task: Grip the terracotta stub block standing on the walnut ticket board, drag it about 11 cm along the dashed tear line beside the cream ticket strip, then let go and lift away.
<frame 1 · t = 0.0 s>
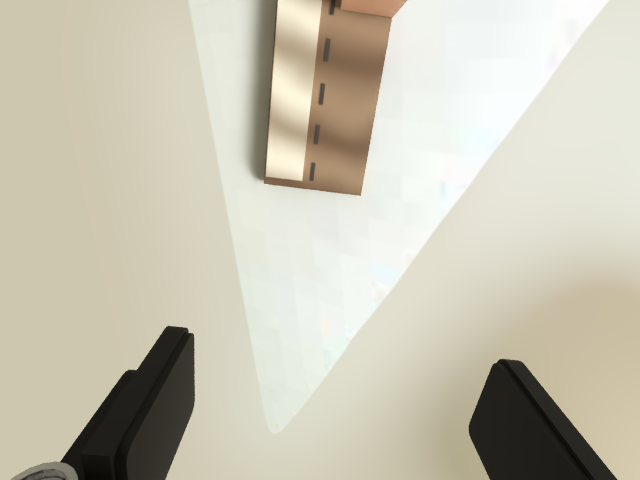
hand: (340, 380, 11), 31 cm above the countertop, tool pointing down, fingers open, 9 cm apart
ticket board: (329, 52, 35), on the countertop
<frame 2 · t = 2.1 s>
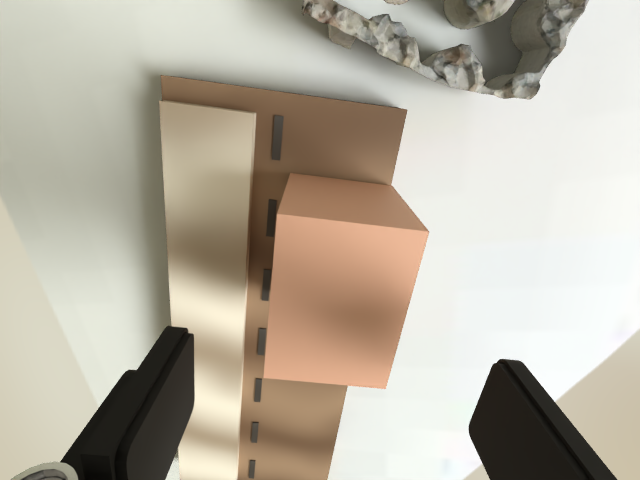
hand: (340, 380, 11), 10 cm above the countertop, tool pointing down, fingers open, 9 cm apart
ticket board: (269, 326, 22), on the countertop
stub: (334, 272, 15), point 5 cm above the countertop, slide at 0.0 cm
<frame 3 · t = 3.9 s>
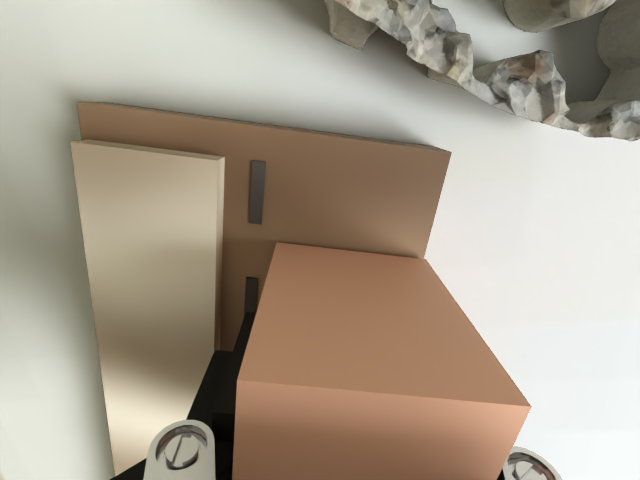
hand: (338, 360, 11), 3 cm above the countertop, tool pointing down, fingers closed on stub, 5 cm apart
ticket board: (252, 427, 16), on the countertop
stub: (342, 404, 10), point 5 cm above the countertop, slide at 0.0 cm, touching gripper
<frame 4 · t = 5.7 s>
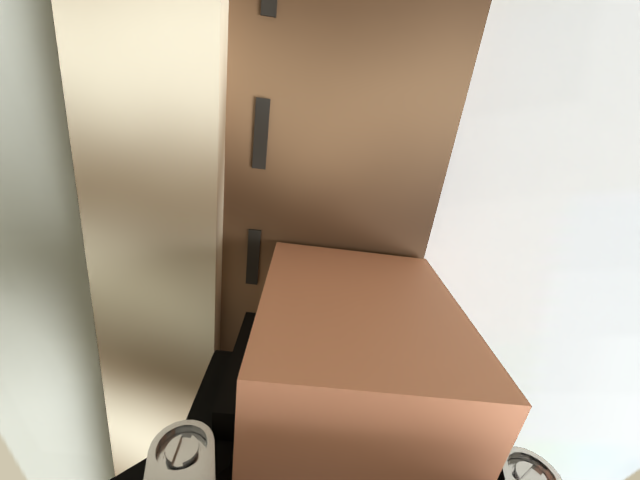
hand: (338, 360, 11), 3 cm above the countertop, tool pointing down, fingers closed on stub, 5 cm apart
ticket board: (260, 328, 14), on the countertop
stub: (342, 403, 10), point 5 cm above the countertop, slide at 5.8 cm, touching gripper
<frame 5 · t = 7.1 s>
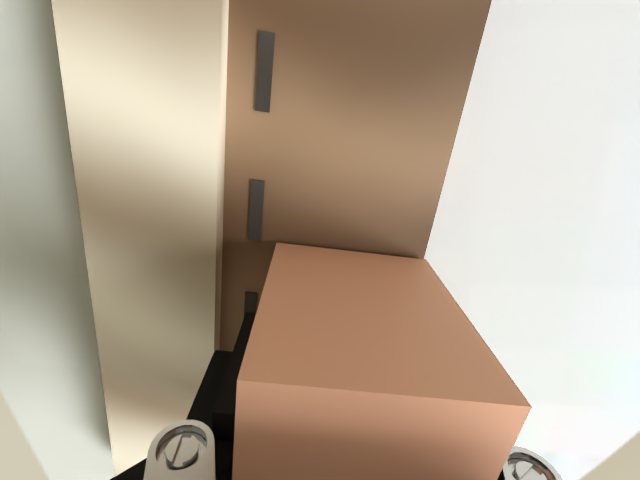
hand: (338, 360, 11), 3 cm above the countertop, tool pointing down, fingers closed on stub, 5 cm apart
ticket board: (270, 199, 12), on the countertop
stub: (342, 404, 10), point 5 cm above the countertop, slide at 11.4 cm, touching gripper
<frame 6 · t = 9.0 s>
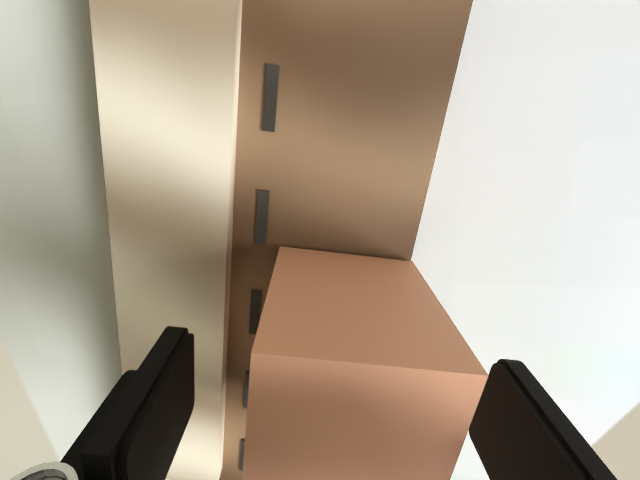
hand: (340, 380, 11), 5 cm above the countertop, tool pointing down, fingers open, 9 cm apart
ticket board: (273, 207, 14), on the countertop
stub: (338, 388, 11), point 5 cm above the countertop, slide at 11.5 cm
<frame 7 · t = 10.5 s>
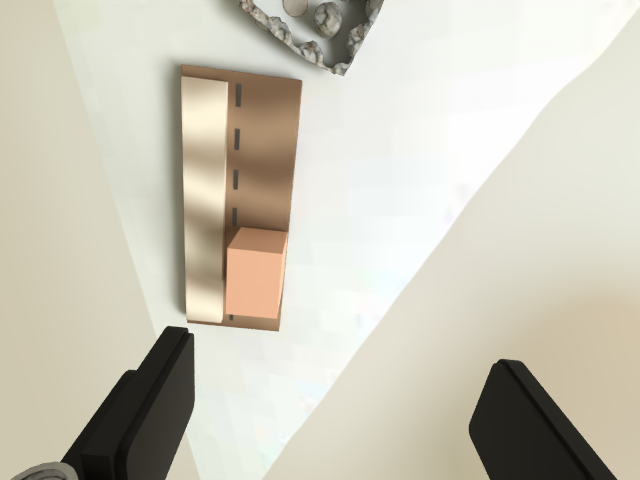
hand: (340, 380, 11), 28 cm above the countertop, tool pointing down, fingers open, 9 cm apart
ticket board: (240, 213, 38), on the countertop
stub: (258, 270, 35), point 5 cm above the countertop, slide at 11.5 cm
egg carton: (312, 12, 31), on the countertop
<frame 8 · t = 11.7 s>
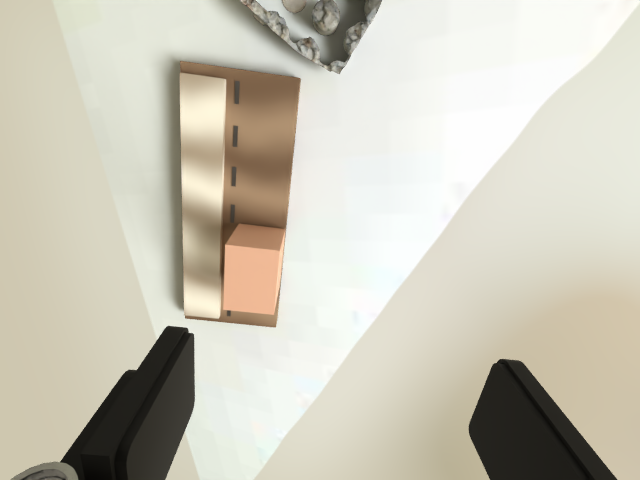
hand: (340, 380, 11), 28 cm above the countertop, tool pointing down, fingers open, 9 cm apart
ticket board: (238, 209, 38), on the countertop
stub: (255, 267, 35), point 5 cm above the countertop, slide at 11.5 cm
egg carton: (311, 9, 31), on the countertop
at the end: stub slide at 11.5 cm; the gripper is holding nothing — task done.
